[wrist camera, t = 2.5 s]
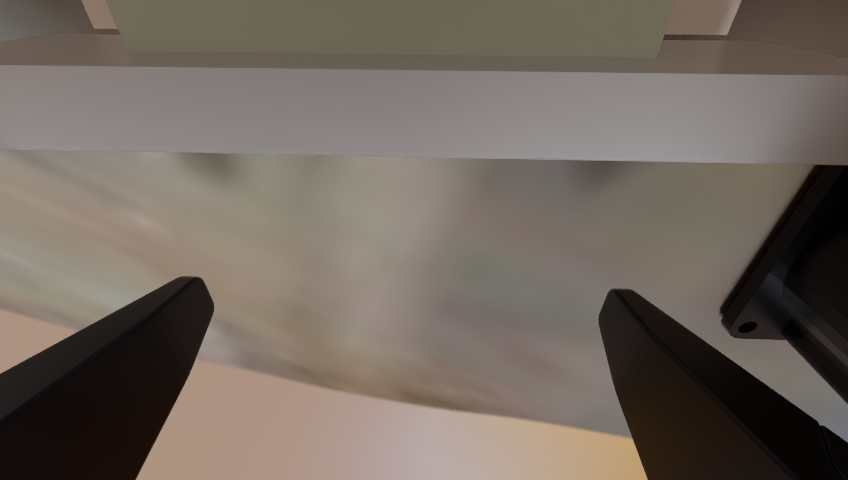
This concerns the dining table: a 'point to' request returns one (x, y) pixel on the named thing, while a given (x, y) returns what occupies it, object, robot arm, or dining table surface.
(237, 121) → the green block on base
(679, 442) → the robot arm
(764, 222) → the dining table surface
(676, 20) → the dock
